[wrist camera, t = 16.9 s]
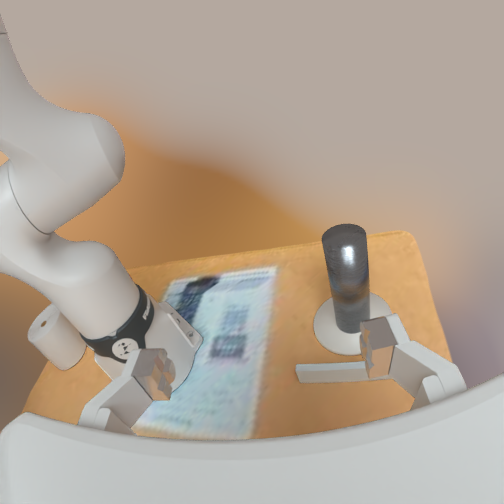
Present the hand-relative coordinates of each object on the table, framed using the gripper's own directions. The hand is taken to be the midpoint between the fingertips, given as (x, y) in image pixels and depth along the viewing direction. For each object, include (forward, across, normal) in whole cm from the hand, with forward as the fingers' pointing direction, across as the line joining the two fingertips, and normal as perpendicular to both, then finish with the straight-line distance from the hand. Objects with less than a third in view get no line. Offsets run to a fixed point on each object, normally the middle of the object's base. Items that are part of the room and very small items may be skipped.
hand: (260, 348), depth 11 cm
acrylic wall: (+14, -7, +24) cm, 29 cm away
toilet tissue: (+27, +49, +28) cm, 63 cm away
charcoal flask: (+23, -9, +22) cm, 33 cm away
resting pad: (+23, -10, +23) cm, 34 cm away
